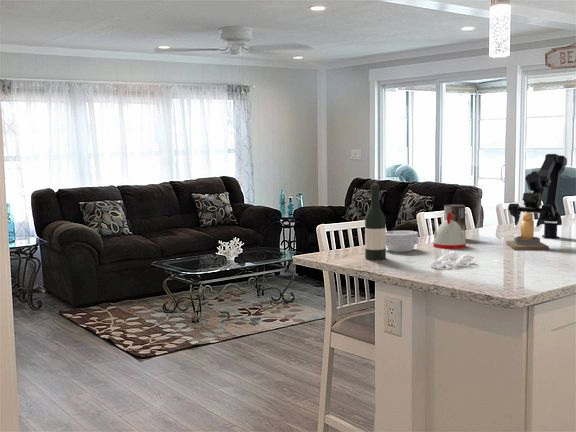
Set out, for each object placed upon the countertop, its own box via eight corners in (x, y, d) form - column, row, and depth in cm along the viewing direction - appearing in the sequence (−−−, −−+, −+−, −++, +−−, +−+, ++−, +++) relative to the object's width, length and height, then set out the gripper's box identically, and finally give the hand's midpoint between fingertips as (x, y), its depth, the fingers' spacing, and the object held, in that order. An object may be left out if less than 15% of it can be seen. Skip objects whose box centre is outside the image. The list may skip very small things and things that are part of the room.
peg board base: (506, 244, 299) (506, 235, 299) (538, 244, 298) (539, 235, 297) (514, 250, 283) (514, 240, 283) (548, 250, 282) (548, 240, 281)
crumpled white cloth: (452, 276, 240) (453, 264, 239) (419, 267, 251) (420, 256, 250) (481, 266, 253) (482, 256, 252) (449, 259, 264) (449, 248, 263)
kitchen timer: (430, 248, 293) (430, 214, 291) (436, 243, 305) (436, 210, 304) (463, 249, 287) (463, 214, 286) (467, 244, 300) (468, 211, 298)
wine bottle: (387, 257, 272) (387, 183, 269) (383, 260, 264) (383, 184, 261) (367, 256, 275) (367, 183, 271) (362, 259, 267) (362, 184, 263)
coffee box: (463, 238, 319) (463, 204, 318) (465, 240, 313) (465, 205, 311) (443, 238, 320) (443, 204, 318) (445, 240, 314) (445, 205, 312)
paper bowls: (383, 247, 297) (383, 229, 296) (418, 247, 294) (418, 229, 293) (381, 253, 282) (381, 234, 281) (418, 253, 279) (418, 234, 278)
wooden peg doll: (517, 243, 292) (518, 213, 290) (527, 242, 294) (528, 212, 292) (526, 244, 287) (527, 214, 285) (536, 244, 289) (536, 213, 287)
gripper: (509, 185, 296) (500, 212, 289) (553, 186, 285) (544, 214, 277) (515, 201, 303) (506, 228, 296) (558, 203, 292) (550, 231, 284)
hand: (526, 225), depth 288 cm, fingers open, 9 cm apart
